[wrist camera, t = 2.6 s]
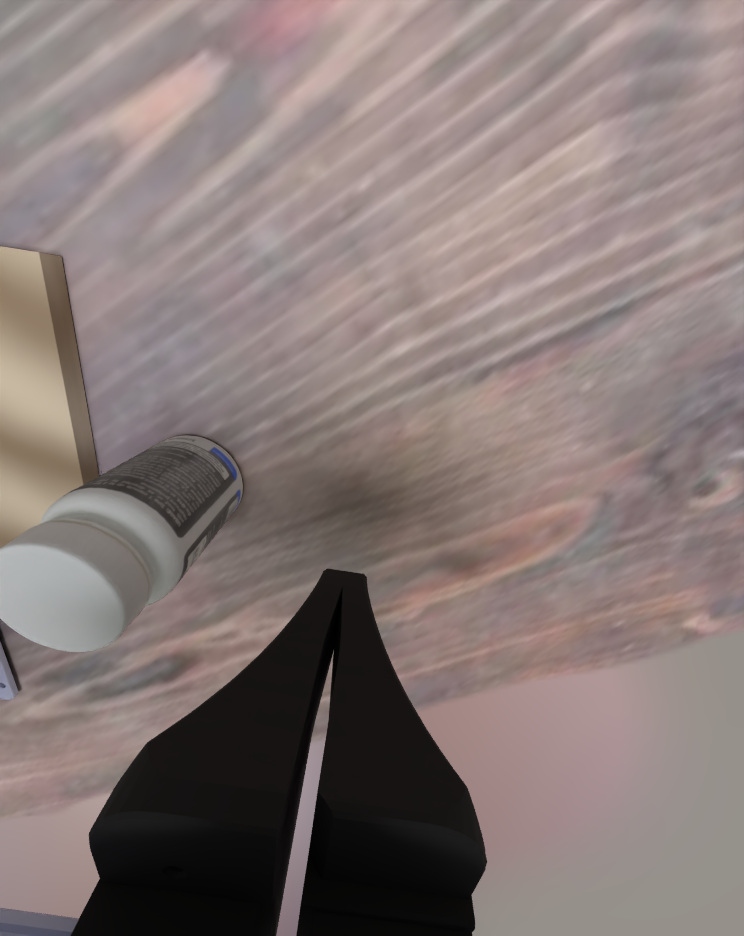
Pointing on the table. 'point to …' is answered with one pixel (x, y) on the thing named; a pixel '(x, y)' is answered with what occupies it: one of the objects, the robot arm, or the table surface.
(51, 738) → the table surface
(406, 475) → the table surface
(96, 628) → the pill bottle
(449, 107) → the table surface
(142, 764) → the robot arm
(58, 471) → the beech board
